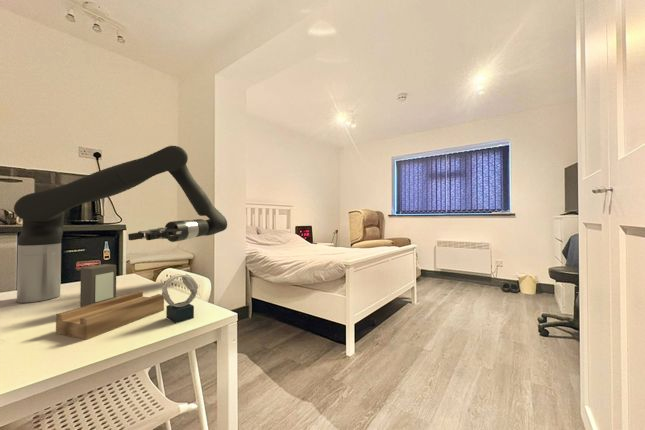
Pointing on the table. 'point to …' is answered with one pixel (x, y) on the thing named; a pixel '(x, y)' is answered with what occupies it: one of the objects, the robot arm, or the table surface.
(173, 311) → the watch
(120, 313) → the wooden channel tray
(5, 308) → the table surface
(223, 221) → the robot arm
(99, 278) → the tall taupe pillar block
